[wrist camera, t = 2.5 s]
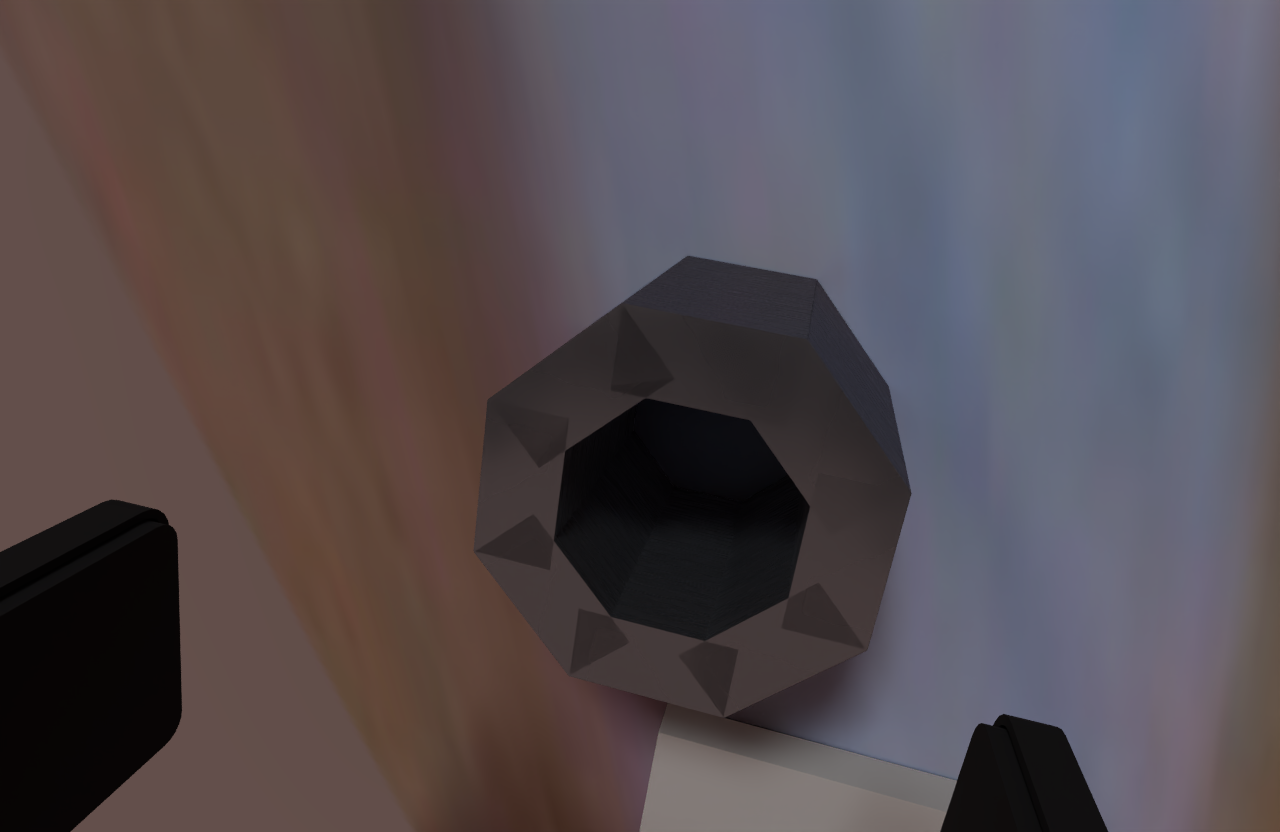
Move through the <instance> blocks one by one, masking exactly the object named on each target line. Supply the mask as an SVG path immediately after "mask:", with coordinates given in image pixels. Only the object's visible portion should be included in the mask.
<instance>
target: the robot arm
mask: <svg viewBox="0 0 1280 832" xmlns="http://www.w3.org/2000/svg"><path fill="white" fill-rule="evenodd" d="M181 698H182V695H181V657H180V617H179V579H178V540H177V533H176V531H175V530H174V528H173V527H171V526H170V525H169V523H168V520H167V518H166V516H165V514H164V513H162V512H161V511H159V510H157V509H152V508H148V507H144V506H140V505H136V504H132V503H127V502H124V501H119V500H109V501H105V502H102V503H100V504H98V505H96V506H94V507H92V508H90V509H88V510H86V511H84V512H82V513H80V514H78V515H75V516H74V517H72V518H70V519H67V520H65V521H63V522H61V523H59V524H57V525H55V526H53V527H51V528H49V529H47V530H45V531H43V532H41V533H39V534H36V535H34V536H32V537H30V538H28V539H26V540H24V541H22V542H20V543H18V544H16V545H14V546H12V547H10V548H8V549H6V550H4V551H2V552H0V832H70V831H72V830H73V829H74V828H75V827H76V826H77V825H78V824H79V823H80V822H81V821H82V820H84V819H85V818H86V817H87V816H88V815H89V814H90V813H91V812H92V811H93V810H95V809H96V808H97V807H98V806H99V805H100V804H101V803H102V802H103V801H104V800H106V799H107V798H108V797H109V796H110V795H111V794H112V793H113V792H114V791H115V790H116V789H118V788H119V787H120V786H121V785H122V784H123V783H124V782H125V781H126V780H128V779H129V778H130V777H131V776H132V775H133V774H134V773H135V772H136V771H137V770H138V769H140V768H141V767H142V766H143V765H144V764H145V763H146V762H147V761H148V760H149V759H151V758H152V757H153V756H154V755H155V754H156V753H157V752H158V751H159V750H160V749H162V748H163V746H165V745H166V744H167V743H168V741H169V740H170V739H171V738H172V736H173V735H174V733H175V732H176V729H177V727H178V725H179V722H180V719H181V713H182V699H181ZM940 832H1108V830H1107V828H1106V826H1105V823H1104V821H1103V819H1102V817H1101V814H1100V812H1099V810H1098V808H1097V805H1096V803H1095V801H1094V799H1093V796H1092V794H1091V792H1090V790H1089V787H1088V785H1087V783H1086V780H1085V778H1084V776H1083V774H1082V771H1081V769H1080V767H1079V765H1078V762H1077V760H1076V758H1075V756H1074V753H1073V751H1072V749H1071V747H1070V744H1069V742H1068V740H1067V738H1066V735H1065V734H1064V732H1063V731H1062V729H1060V728H1058V727H1055V726H1051V725H1047V724H1043V723H1039V722H1035V721H1031V720H1026V719H1022V718H1018V717H1014V716H1010V715H1006V714H1003V715H1000V716H999V717H998V718H997V720H996V721H995V723H994V725H993V726H991V725H987V724H983V723H981V724H978V726H977V727H976V728H975V731H974V733H973V735H972V738H971V741H970V744H969V747H968V750H967V753H966V756H965V759H964V762H963V765H962V768H961V771H960V774H959V777H958V780H957V783H956V786H955V789H954V792H953V795H952V798H951V801H950V804H949V807H948V810H947V813H946V816H945V818H944V821H943V824H942V827H941V830H940Z"/></svg>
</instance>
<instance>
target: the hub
mask: <svg viewBox="0 0 1280 832" xmlns="http://www.w3.org/2000/svg"><path fill="white" fill-rule="evenodd" d="M645 398H648V399H653V400H658V401H662V402H667V403H672V404H676V405H681V406H686V407H691V408H695V409H700V410H705V411H709V412H714V413H719V414H723V415H728V416H733V417H738V418H742V419H747V420H751V422H752V423H753V425H754V426H755V428H756V429H757V431H758V432H759V433H760V435H761V436H762V438H763V439H764V441H765V442H766V443H767V445H768V446H769V448H770V449H771V451H772V452H773V453H774V455H775V456H776V458H777V459H778V461H779V462H780V463H781V465H782V466H783V468H784V469H785V471H786V472H787V474H788V476H787V477H785V478H783V479H781V480H780V481H778V482H776V483H774V484H773V485H771V486H769V487H768V488H766V489H764V490H762V491H761V492H759V493H757V494H755V495H754V496H752V497H750V498H748V499H747V500H745V501H743V502H740V501H736V500H732V499H727V498H723V497H719V496H714V495H710V494H705V493H701V492H697V491H692V490H688V489H684V488H679V487H675V486H673V484H672V483H671V482H670V480H669V479H668V478H667V476H666V475H665V473H664V472H663V471H662V469H661V468H660V466H659V465H658V464H657V462H656V461H655V459H654V458H653V457H652V455H651V454H650V453H649V451H648V450H647V448H646V447H645V446H644V444H643V443H642V441H641V440H640V439H639V437H638V436H637V434H636V433H635V432H634V430H633V429H634V423H635V416H636V410H637V404H638V403H639V402H640V401H642V400H643V399H645ZM910 496H911V489H910V484H909V479H908V475H907V470H906V465H905V461H904V456H903V451H902V447H901V442H900V437H899V433H898V428H897V423H896V418H895V414H894V409H893V404H892V400H891V395H890V390H889V386H888V385H887V383H886V382H885V380H884V379H883V377H882V376H881V374H880V373H879V371H878V370H877V368H876V367H875V365H874V364H873V362H872V361H871V359H870V358H869V357H868V355H867V354H866V352H865V351H864V349H863V348H862V346H861V345H860V343H859V342H858V340H857V339H856V337H855V336H854V334H853V333H852V331H851V330H850V328H849V327H848V325H847V324H846V322H845V321H844V319H843V318H842V316H841V315H840V313H839V312H838V310H837V309H836V307H835V306H834V304H833V303H832V301H831V300H830V298H829V297H828V295H827V294H826V292H825V291H824V289H823V288H822V286H821V285H820V283H819V282H818V280H817V279H812V278H806V277H801V276H795V275H790V274H784V273H779V272H774V271H768V270H763V269H757V268H752V267H746V266H741V265H735V264H730V263H725V262H719V261H714V260H708V259H703V258H697V257H692V256H687V257H685V258H684V259H682V260H681V261H680V262H678V263H677V264H675V265H674V266H673V267H671V268H670V269H668V270H667V271H666V272H664V273H663V274H662V275H660V276H659V277H657V278H656V279H655V280H653V281H652V282H650V283H649V284H648V285H646V286H645V287H643V288H642V289H641V290H639V291H638V292H636V293H635V294H634V295H632V296H631V297H629V298H628V299H627V300H625V301H624V302H622V303H621V304H620V305H618V306H617V307H615V308H614V309H613V310H611V311H610V312H608V313H607V314H606V315H604V316H603V317H601V318H600V319H599V320H597V321H596V322H594V323H593V324H592V325H590V326H589V327H588V328H586V329H585V330H583V331H582V332H581V333H579V334H578V335H576V336H575V337H574V338H572V339H571V340H570V341H568V342H567V343H565V344H564V345H563V346H561V347H560V348H558V349H557V350H556V351H554V352H553V353H552V354H550V355H549V356H547V357H546V358H545V359H543V360H542V361H540V362H539V363H538V364H536V365H535V366H534V367H532V368H531V369H529V370H528V371H527V372H525V373H524V374H522V375H521V376H520V377H518V378H517V379H516V380H514V381H513V382H511V383H510V384H509V385H507V386H506V387H505V388H503V389H502V390H500V391H499V392H498V393H496V394H495V395H493V396H492V397H491V398H489V399H488V402H487V413H486V424H485V434H484V445H483V456H482V467H481V477H480V488H479V499H478V509H477V520H476V531H475V542H474V553H475V554H476V555H477V557H478V558H479V559H480V560H481V562H482V563H483V564H484V566H485V567H486V568H487V570H488V571H489V572H490V574H491V575H492V576H493V577H494V579H495V580H496V581H497V583H498V584H499V585H500V587H501V588H502V589H503V591H504V592H505V593H506V594H507V596H508V597H509V598H510V600H511V601H512V602H513V604H514V605H515V606H516V608H517V609H518V610H519V611H520V613H521V614H522V615H523V617H524V618H525V619H526V621H527V622H528V623H529V625H530V626H531V627H532V628H533V630H534V631H535V632H536V634H537V635H538V636H539V638H540V639H541V640H542V642H543V643H544V644H545V645H546V647H547V648H548V649H549V651H550V652H551V653H552V655H553V656H554V657H555V659H556V660H557V661H558V662H559V664H560V665H561V666H562V668H563V669H564V670H565V672H566V673H567V674H568V675H569V676H571V677H575V678H578V679H582V680H586V681H589V682H593V683H597V684H600V685H604V686H608V687H612V688H615V689H619V690H623V691H626V692H630V693H634V694H637V695H641V696H645V697H648V698H652V699H656V700H659V701H663V702H667V703H671V704H674V705H678V706H682V707H685V708H689V709H693V710H696V711H700V712H704V713H707V714H711V715H715V716H719V717H722V718H725V717H727V716H729V715H731V714H733V713H735V712H738V711H740V710H742V709H744V708H746V707H748V706H750V705H752V704H754V703H757V702H759V701H761V700H763V699H765V698H767V697H769V696H771V695H774V694H776V693H778V692H780V691H782V690H784V689H786V688H788V687H790V686H793V685H795V684H797V683H799V682H801V681H803V680H805V679H807V678H810V677H812V676H814V675H816V674H818V673H820V672H822V671H824V670H826V669H829V668H831V667H833V666H835V665H837V664H839V663H841V662H843V661H846V660H848V659H850V658H852V657H854V656H856V655H858V654H860V653H863V652H865V651H867V649H868V646H869V642H870V639H871V635H872V632H873V628H874V625H875V621H876V617H877V614H878V610H879V607H880V603H881V600H882V596H883V593H884V589H885V585H886V582H887V578H888V575H889V571H890V568H891V564H892V561H893V557H894V553H895V550H896V546H897V543H898V539H899V536H900V532H901V528H902V525H903V521H904V518H905V514H906V511H907V507H908V504H909V500H910Z"/></svg>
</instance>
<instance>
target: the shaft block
mask: <svg viewBox="0 0 1280 832" xmlns="http://www.w3.org/2000/svg"><path fill="white" fill-rule="evenodd" d="M956 783H957V781H956V780H952V779H948V778H945V777H941V776H937V775H933V774H930V773H926V772H922V771H919V770H915V769H911V768H908V767H904V766H900V765H897V764H893V763H889V762H885V761H882V760H878V759H874V758H871V757H867V756H863V755H860V754H856V753H852V752H849V751H845V750H841V749H837V748H834V747H830V746H826V745H823V744H819V743H815V742H812V741H808V740H804V739H801V738H797V737H793V736H789V735H786V734H782V733H778V732H775V731H771V730H767V729H764V728H760V727H756V726H753V725H749V724H745V723H741V722H738V721H734V720H730V719H727V718H722V717H719V716H715V715H711V714H707V713H704V712H700V711H696V710H693V709H689V708H685V707H682V706H678V705H674V704H671V703H667V706H666V710H665V713H664V716H663V719H662V723H661V726H660V729H659V733H658V738H657V743H656V748H655V754H654V759H653V764H652V769H651V775H650V780H649V785H648V790H647V795H646V801H645V806H644V811H643V816H642V822H641V827H640V832H940V830H941V827H942V824H943V821H944V818H945V816H946V813H947V810H948V807H949V804H950V801H951V798H952V795H953V792H954V789H955V786H956Z"/></svg>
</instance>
